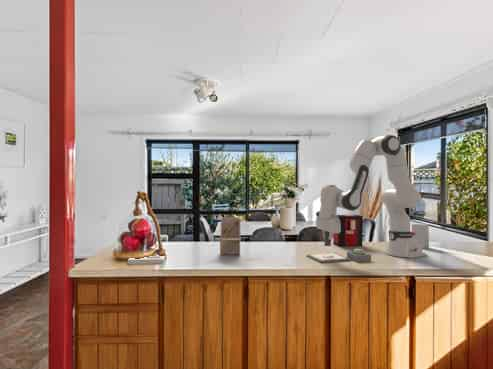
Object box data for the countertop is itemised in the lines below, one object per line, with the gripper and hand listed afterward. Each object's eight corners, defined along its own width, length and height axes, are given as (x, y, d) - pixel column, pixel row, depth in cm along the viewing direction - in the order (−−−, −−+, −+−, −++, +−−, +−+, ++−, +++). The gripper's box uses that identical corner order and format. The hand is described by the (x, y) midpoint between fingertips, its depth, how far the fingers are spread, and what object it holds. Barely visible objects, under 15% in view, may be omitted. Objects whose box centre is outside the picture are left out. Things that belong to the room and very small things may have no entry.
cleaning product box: (338, 246, 226) (338, 216, 225) (333, 244, 235) (333, 214, 234) (362, 246, 228) (362, 216, 228) (356, 243, 237) (356, 214, 236)
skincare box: (429, 247, 223) (429, 224, 223) (423, 249, 220) (424, 224, 219) (416, 245, 230) (417, 222, 230) (411, 246, 227) (411, 223, 226)
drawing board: (334, 254, 202) (334, 252, 202) (350, 260, 187) (350, 258, 187) (306, 256, 196) (306, 254, 196) (321, 263, 181) (321, 260, 181)
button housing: (360, 257, 195) (360, 251, 195) (370, 261, 187) (371, 254, 186) (346, 258, 192) (346, 252, 192) (356, 262, 184) (356, 255, 184)
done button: (359, 253, 192) (359, 248, 192) (365, 255, 188) (365, 250, 188) (352, 254, 191) (352, 249, 191) (357, 256, 186) (357, 250, 186)
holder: (144, 247, 222) (144, 243, 222) (172, 247, 224) (172, 243, 224) (127, 265, 177) (127, 259, 177) (163, 264, 179) (163, 259, 179)
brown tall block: (219, 254, 202) (220, 211, 202) (239, 254, 203) (239, 211, 203) (220, 257, 195) (220, 212, 194) (240, 257, 196) (240, 212, 195)
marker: (328, 244, 194) (329, 227, 193) (332, 246, 190) (332, 227, 190) (322, 245, 192) (323, 227, 192) (326, 246, 189) (326, 228, 189)
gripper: (344, 216, 182) (343, 242, 182) (323, 212, 202) (323, 235, 202) (333, 216, 180) (333, 242, 180) (314, 212, 200) (313, 236, 200)
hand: (327, 239), depth 191 cm, fingers closed on marker, 3 cm apart
